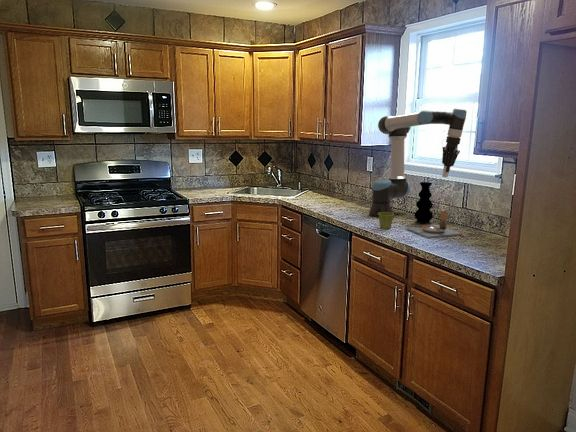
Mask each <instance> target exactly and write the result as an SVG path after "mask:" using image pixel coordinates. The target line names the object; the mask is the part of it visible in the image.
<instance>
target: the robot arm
mask: <svg viewBox="0 0 576 432" xmlns="http://www.w3.org/2000/svg"><path fill="white" fill-rule="evenodd" d="M466 118H467V110H466V109H459V108H453V109H452V111H448V110H444V109H442V110H441V109H437V110H428V109H425V110H421V111H418V112H413V113H408V114H402V115H385V116H382V117H381V118H380V119H379V121H378V123H377V127H378V130H379V131H380V132H381V133H382V134H385V135H388V138H389V139H390V176H389V177H388V179H385V178H384V179H377V180H375V181H373V183H372V200H371V201H372V202H371V206H370V209H369V211H368V215H369V216H370V217H375V218H379V214H378V213H380V212H389V213H393V210H392V207H391V200H392V199H402V198H405V197H407V196H408V195H409V194H410V191H411V185H410V182H409V181H408V180H407V177H406V176H405V139H406V138H407V136H408V134H409V133H410V131H411V128H412V127H417V126H422V125H423V126H424V125H448V130H447V136H446V139H445V142H446V144H445V146H442V157H441V159H442V160H441V164H442V165H443V169H442V176H441V177H442V178H448V177H449V173H450V170H451V167H454V165H455V163H456V160H457V159H458V156H459V154H460V153H461V151H460V150H459V148H458V145H460V143H461V137H462V135H463V129H464V125H465V121H466Z"/></svg>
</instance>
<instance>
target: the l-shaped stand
mask: <svg viewBox="0 0 576 432" xmlns="http://www.w3.org/2000/svg"><path fill="white" fill-rule="evenodd" d="M439 214H440V215H439V224H431V223H426V224H423V225H422V226H418V227H419V228H422V230H423V231H426V232H431V233H442V232H444V231H445V229H446V228H447V226H448V224H447V222H448V210H444V209H442V210H441V209H440V213H439Z"/></svg>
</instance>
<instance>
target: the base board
mask: <svg viewBox="0 0 576 432" xmlns="http://www.w3.org/2000/svg"><path fill="white" fill-rule="evenodd" d="M419 227H420V226H415V227H407V228H406V231H408V232H411V233H413V234H415V235H419V236H421V237H423V238H427V239H436V238H447V237H455V236H456V237H457V236H462V232H458V231H456V230H453V229H449V228H447V227H446V229H445V231H444V232H442V233H431V232H426V231H423V230H422V228H419Z"/></svg>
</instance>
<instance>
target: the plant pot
mask: <svg viewBox="0 0 576 432" xmlns="http://www.w3.org/2000/svg"><path fill="white" fill-rule="evenodd" d="M378 214H379V217H378V219H379V228H380V229H382V230H390V229H392V224H393V219H394V216H395V213H393V212H392V213H389V212H380V213H378Z"/></svg>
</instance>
